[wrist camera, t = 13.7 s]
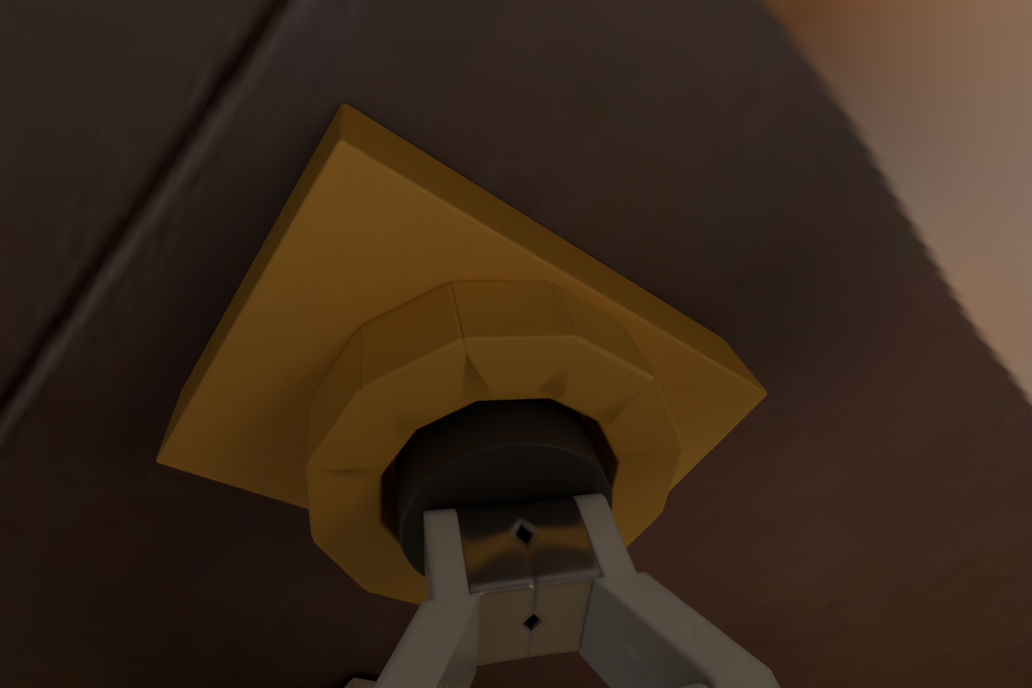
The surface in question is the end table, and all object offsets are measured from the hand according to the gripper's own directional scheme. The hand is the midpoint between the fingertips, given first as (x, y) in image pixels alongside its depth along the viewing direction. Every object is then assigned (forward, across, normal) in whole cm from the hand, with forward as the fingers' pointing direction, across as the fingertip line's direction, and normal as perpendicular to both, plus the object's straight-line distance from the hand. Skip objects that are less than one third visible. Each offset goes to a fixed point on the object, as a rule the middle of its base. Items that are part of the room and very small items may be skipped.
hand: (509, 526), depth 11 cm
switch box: (+5, 0, 0) cm, 5 cm away
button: (+2, 0, 0) cm, 2 cm away
